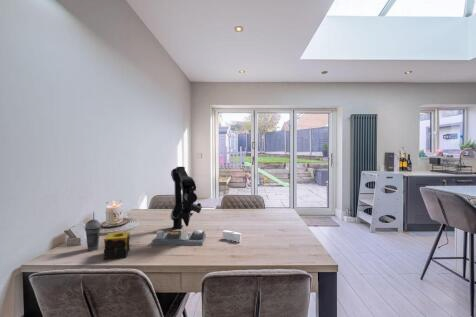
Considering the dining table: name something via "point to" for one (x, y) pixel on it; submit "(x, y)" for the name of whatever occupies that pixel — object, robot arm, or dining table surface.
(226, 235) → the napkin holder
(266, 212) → the dining table surface
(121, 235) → the black and yellow box
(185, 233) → the lever ivory
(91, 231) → the beverage cup
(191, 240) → the control panel
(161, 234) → the grey metal block
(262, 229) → the dining table surface
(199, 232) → the button grey
